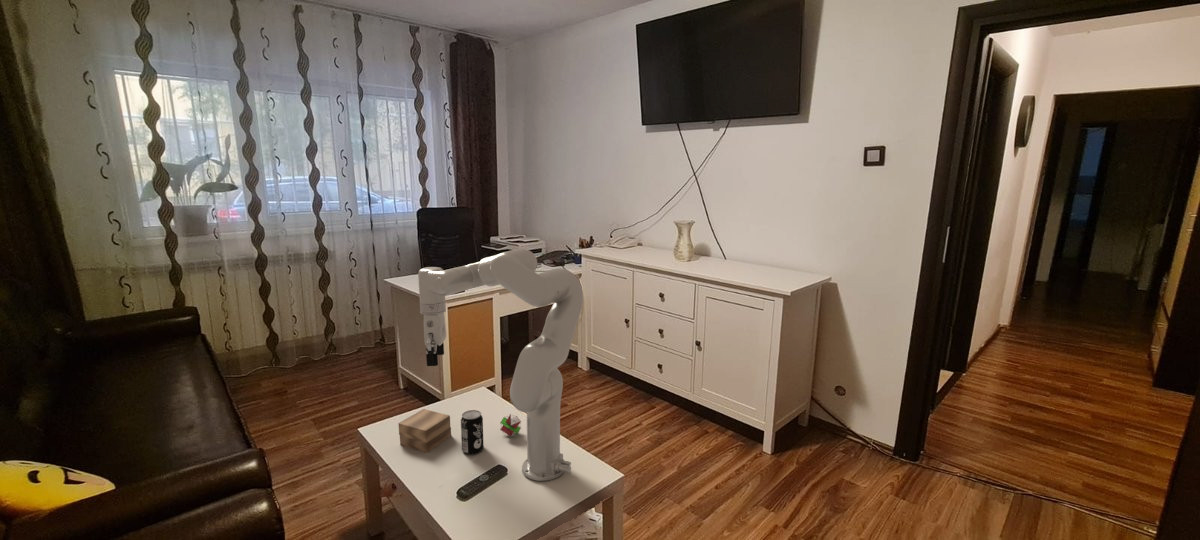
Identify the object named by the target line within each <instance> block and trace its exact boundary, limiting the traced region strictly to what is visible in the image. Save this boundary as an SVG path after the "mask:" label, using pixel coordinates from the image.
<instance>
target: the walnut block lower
mask: <svg viewBox="0 0 1200 540" xmlns="http://www.w3.org/2000/svg"><path fill="white" fill-rule="evenodd" d="M451 436H452V427H451V426H450V428H448V429H447V430H445V431H444V432H442V433H440V434H439V435H437V436H436V437H434V438H433V439H431V440H430V441H428V442H427V443H425V442H422V441H418V440H415V439H411V438H408V437H404V436H401V435H399V442H400V446H403V447H406V448H409V449H412V450H416V451H419V452H423V453H426V454H428V453H429V452H432V450H433V449H436V447H438V446H440V444H443V443H444V442H445V441H446V440H447V439H449V438H450V437H451Z"/></svg>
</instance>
